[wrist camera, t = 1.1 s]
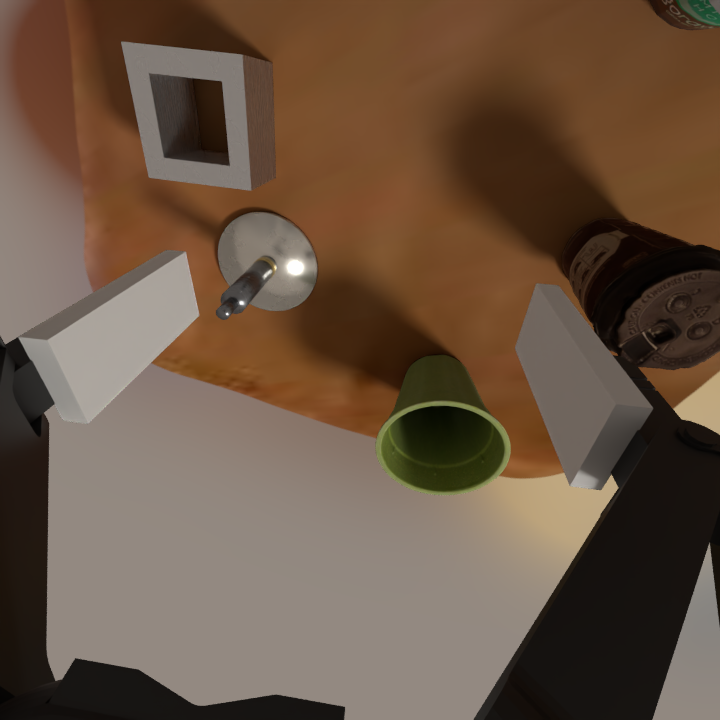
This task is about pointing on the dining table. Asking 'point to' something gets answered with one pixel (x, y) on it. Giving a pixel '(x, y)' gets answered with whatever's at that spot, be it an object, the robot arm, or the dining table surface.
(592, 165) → the dining table surface
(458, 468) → the plant pot
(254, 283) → the post
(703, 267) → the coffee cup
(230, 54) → the collar
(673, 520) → the robot arm
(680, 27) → the food container
